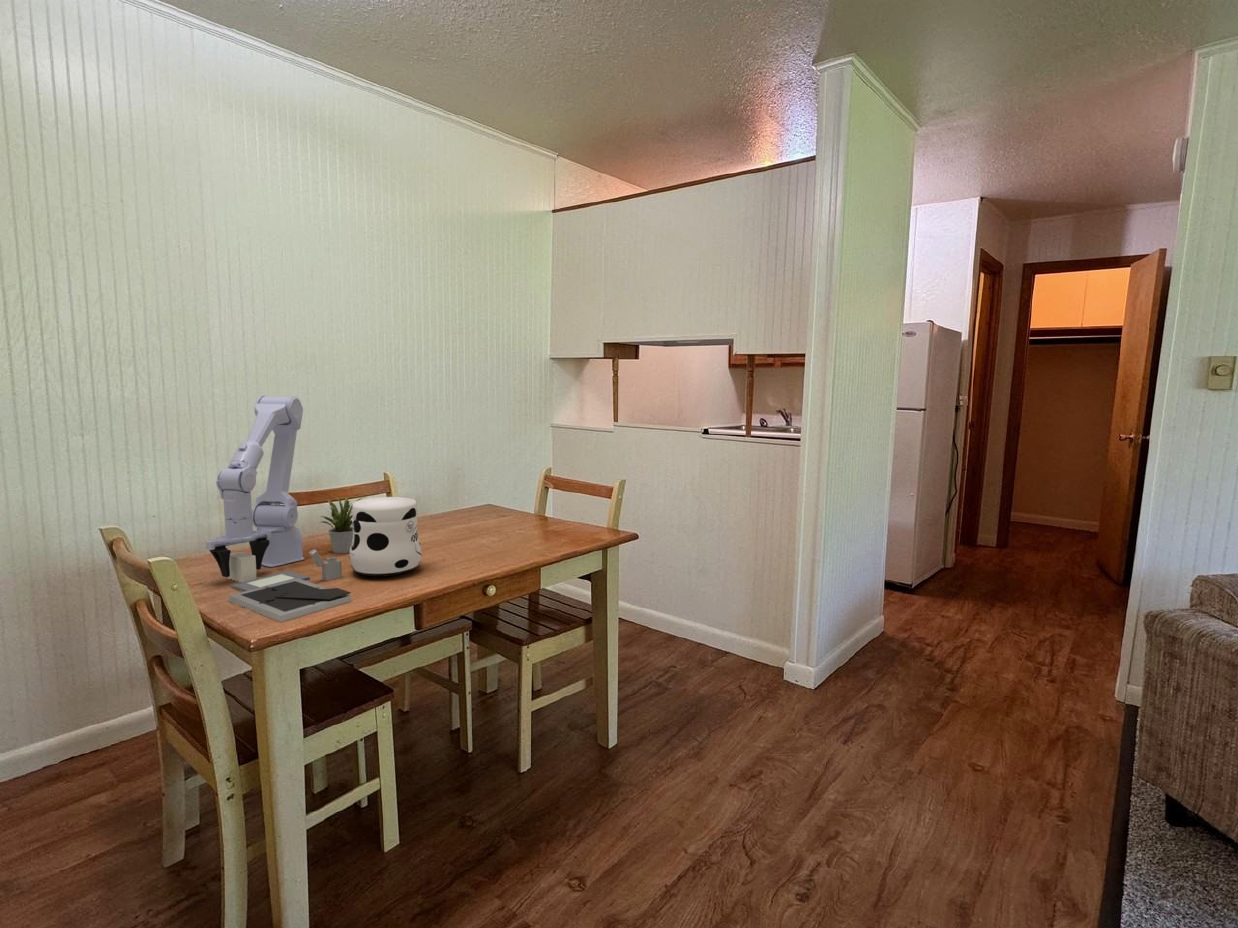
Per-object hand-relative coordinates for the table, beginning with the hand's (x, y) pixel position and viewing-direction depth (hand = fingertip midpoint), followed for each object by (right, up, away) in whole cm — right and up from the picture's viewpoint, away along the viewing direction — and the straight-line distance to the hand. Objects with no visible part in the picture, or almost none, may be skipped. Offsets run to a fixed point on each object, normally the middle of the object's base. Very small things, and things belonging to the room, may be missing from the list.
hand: (241, 572), depth 159 cm
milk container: (+32, -1, +9) cm, 33 cm away
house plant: (+15, +1, +27) cm, 31 cm away
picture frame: (+19, -5, -15) cm, 25 cm away
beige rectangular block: (0, -2, 0) cm, 2 cm away
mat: (+9, -2, -3) cm, 9 cm away
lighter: (+20, -2, +1) cm, 20 cm away
